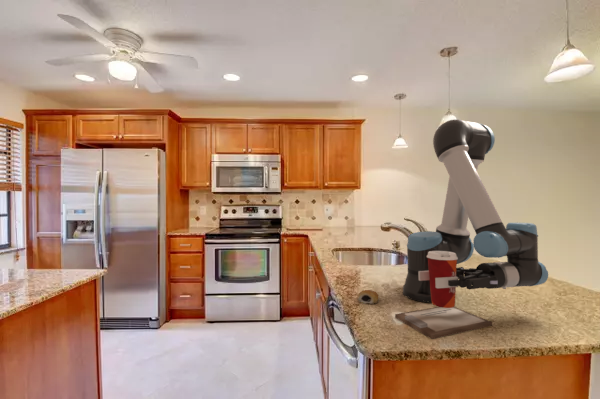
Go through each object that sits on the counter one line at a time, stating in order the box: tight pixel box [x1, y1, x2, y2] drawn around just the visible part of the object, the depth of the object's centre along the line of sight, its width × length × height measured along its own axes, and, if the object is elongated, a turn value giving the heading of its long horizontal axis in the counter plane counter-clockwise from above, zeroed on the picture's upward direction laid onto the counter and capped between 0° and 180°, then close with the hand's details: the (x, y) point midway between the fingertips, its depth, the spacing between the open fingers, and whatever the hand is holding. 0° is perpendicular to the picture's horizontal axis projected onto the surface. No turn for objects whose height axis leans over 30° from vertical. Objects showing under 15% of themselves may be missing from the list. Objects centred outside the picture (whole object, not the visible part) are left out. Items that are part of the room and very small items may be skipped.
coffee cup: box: [426, 251, 458, 308], centre depth 81 cm, size 8×8×15 cm
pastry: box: [356, 289, 379, 305], centre depth 99 cm, size 9×7×4 cm
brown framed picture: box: [394, 306, 493, 340], centre depth 81 cm, size 14×22×2 cm, turn 110°
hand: (427, 279), depth 80 cm, fingers closed on coffee cup, 7 cm apart
